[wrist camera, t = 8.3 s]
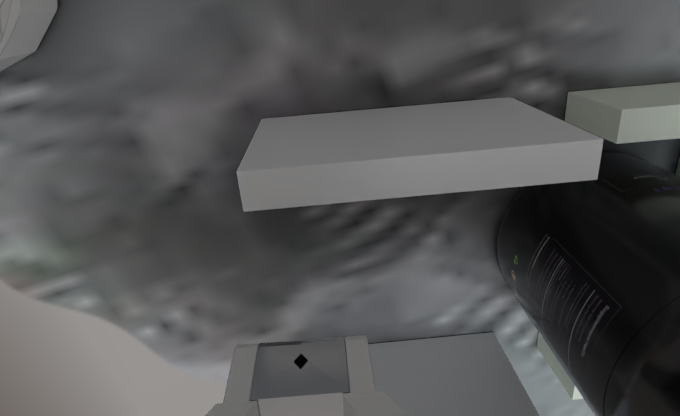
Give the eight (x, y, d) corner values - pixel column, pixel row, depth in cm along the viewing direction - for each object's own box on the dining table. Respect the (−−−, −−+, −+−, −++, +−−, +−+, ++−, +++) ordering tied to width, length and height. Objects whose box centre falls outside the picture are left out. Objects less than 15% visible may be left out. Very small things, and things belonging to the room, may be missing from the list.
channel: (261, 118, 15) (236, 172, 10) (510, 96, 16) (604, 138, 11) (298, 369, 20) (293, 491, 15) (491, 350, 20) (551, 465, 15)
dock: (567, 92, 16) (622, 109, 13) (711, 79, 16) (795, 94, 13) (537, 346, 20) (572, 399, 17) (649, 335, 20) (701, 386, 17)
